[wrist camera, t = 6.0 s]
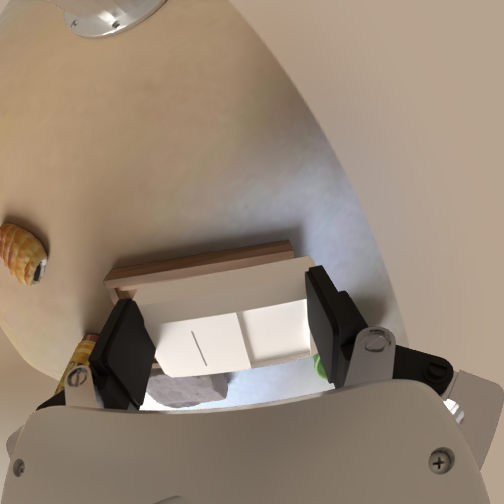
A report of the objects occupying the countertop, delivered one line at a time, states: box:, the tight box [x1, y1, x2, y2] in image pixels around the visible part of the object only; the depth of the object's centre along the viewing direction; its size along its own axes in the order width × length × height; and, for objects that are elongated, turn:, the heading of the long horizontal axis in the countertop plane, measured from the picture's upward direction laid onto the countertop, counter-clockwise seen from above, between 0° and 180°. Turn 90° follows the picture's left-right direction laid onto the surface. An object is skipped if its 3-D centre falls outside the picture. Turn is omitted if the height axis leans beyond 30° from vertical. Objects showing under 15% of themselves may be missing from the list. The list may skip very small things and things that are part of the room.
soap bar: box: [133, 256, 318, 378], centre depth 13 cm, size 5×9×3 cm, turn 100°
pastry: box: [0, 223, 47, 286], centre depth 24 cm, size 9×7×4 cm
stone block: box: [146, 368, 228, 408], centre depth 35 cm, size 12×5×10 cm
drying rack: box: [103, 240, 294, 368], centre depth 30 cm, size 14×20×2 cm
